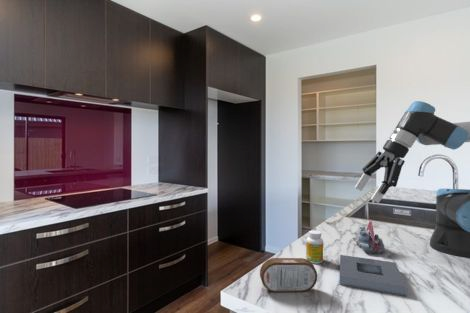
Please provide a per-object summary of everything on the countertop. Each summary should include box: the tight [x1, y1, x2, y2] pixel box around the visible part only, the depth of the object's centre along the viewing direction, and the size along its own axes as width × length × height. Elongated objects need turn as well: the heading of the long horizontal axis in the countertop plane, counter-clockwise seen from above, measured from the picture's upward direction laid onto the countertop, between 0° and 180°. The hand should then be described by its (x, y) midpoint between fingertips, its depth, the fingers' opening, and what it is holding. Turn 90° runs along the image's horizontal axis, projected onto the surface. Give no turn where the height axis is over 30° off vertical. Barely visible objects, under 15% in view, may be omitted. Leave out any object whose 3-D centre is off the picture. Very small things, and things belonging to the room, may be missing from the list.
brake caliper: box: [352, 220, 385, 254], centre depth 101 cm, size 11×11×12 cm
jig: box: [339, 254, 408, 297], centre depth 79 cm, size 16×16×2 cm
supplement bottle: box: [305, 229, 324, 265], centre depth 90 cm, size 5×5×10 cm
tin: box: [259, 257, 318, 293], centre depth 71 cm, size 15×3×8 cm, turn 92°
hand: (365, 194), depth 98 cm, fingers open, 13 cm apart
